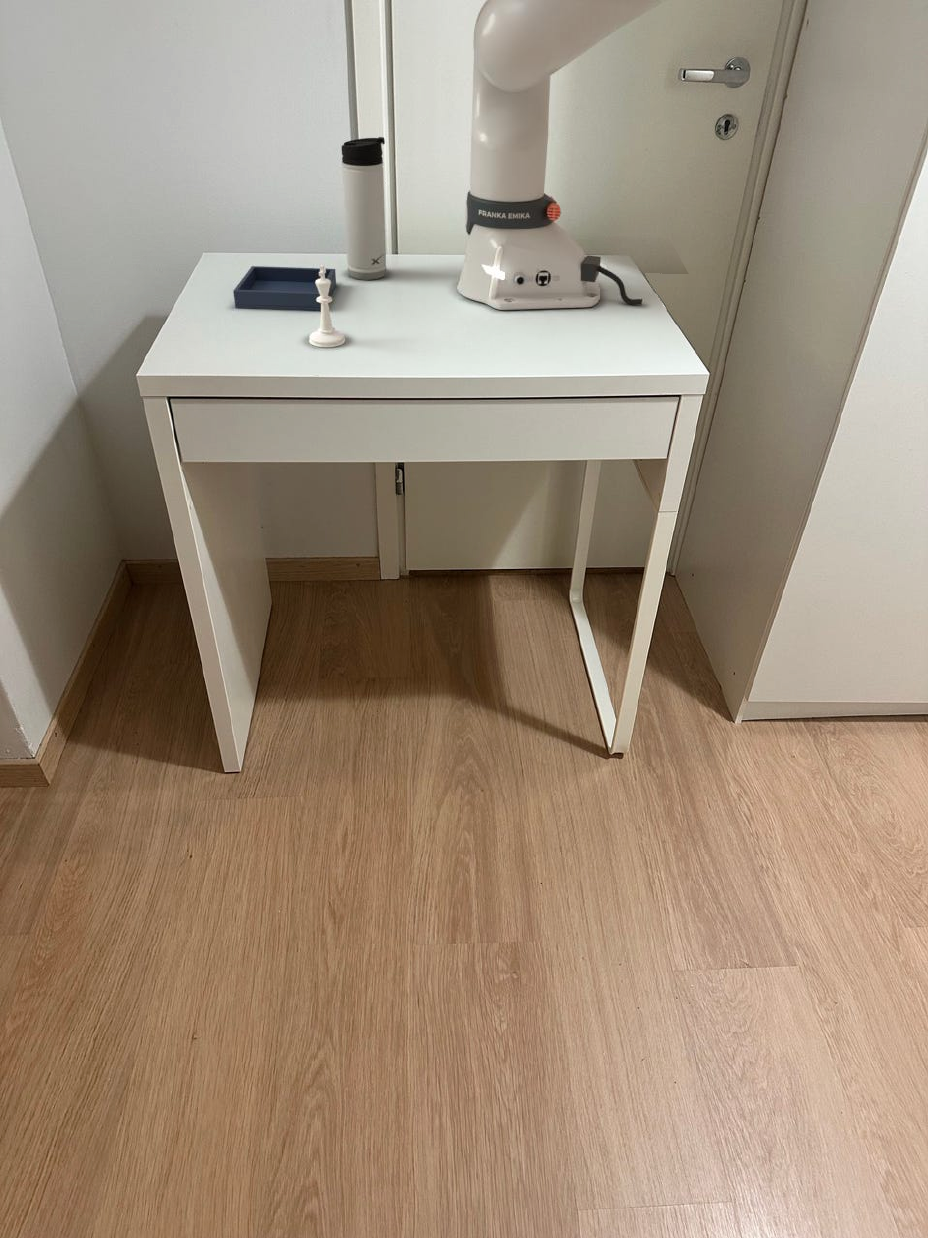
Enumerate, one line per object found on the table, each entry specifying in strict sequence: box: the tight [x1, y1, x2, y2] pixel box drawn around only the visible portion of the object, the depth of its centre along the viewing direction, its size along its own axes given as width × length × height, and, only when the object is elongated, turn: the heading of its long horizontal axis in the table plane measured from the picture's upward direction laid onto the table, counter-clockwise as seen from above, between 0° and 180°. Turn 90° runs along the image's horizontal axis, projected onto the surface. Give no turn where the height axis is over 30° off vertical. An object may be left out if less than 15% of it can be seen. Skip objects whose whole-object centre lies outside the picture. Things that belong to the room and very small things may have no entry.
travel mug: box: [341, 136, 387, 281], centre depth 138 cm, size 6×7×20 cm
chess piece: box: [308, 264, 346, 348], centre depth 118 cm, size 5×5×10 cm
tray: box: [232, 265, 337, 312], centre depth 134 cm, size 13×12×2 cm
